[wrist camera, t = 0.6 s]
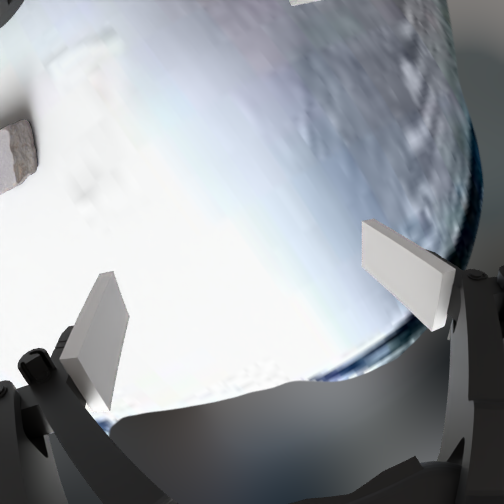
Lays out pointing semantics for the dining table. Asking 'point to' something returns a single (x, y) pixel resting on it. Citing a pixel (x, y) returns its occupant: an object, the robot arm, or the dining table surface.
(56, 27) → the dining table surface
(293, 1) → the switch console
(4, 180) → the decorative stone
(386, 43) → the dining table surface
